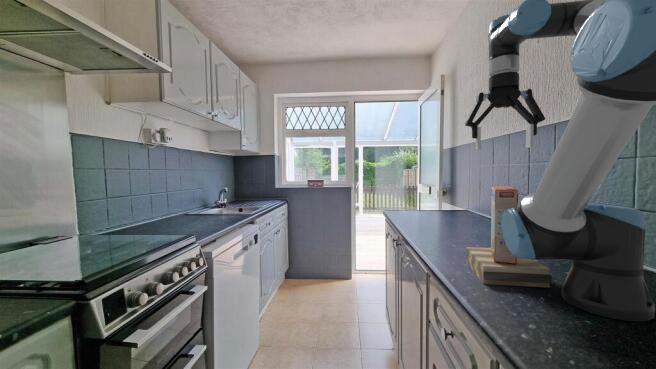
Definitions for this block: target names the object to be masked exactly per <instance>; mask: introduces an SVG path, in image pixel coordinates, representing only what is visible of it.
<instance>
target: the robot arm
mask: <svg viewBox="0 0 656 369" xmlns="http://www.w3.org/2000/svg"><path fill="white" fill-rule="evenodd" d="M569 36H570V37H571V36H572V37H573V36H575V40H574V42H573V44H572V48H571V54H572V55H573V57H572V58H571V59H570V65H571V69H572V71H573V73H574V75H575V76H576V77H577V80H576V82H575V84H576V86H577V87H578V89H579V90H580V92H581V93H582V94H581V96H580V97H579V100H578V103H577V105H576V107H575V108H574V111H573V113H572V115H571V117H570V119H569V121H568V123H567V125H566V128H565V130H564V132H563V134H562V136H561V138H560V140H559V142H558V144H557V147H556V148H555V150H554V152H553V155H552V156H551V159H550V160H549V162H548V165H547V166H546V169H545V171H544V172H543V175H542V176H541V179H540V181H539V182H538V186H537V187H536V189H535V192H532V193H530V194H527V195H525V196H524V197H523V198H522V200H521V202H520V204H519V205H518V209H514V208H511V209H507V210H505V211H504V213H503V216H502V231H503V236H504V239H505V242H506V245H507V247H508V249H509V250H510V252H511V253H512V254H513V255H514V256H516V257H518V258H521V259H531V260H537V261H539V260H541V261H543V260H551V261H552V260H553V261H555V260H557V261H559V260H563V261H565V260H566V261H567V260H570V261H571V267H570V270H569V272H568V273H567V276H566V278H565V280H564V283H563V284H562V287H561V296H562V297H561V298H562V299H563V300H564V301H565V302H566V303H568V304H570V305H571V306H573V307H575V308H577V309H579V310H582V311H584V312H588V313H590V314H594V315H597V316H601V317H604V318H609V319H613V320H620V321H627V322H628V321H629V322H647V321H651V320H653V319H655V313H656V310H655V309H656V308H655V303H654V302H653V298H652V296H651V293H650V291H649V288H648V286H647V284H646V281H645V279H644V266H645V265H644V262H645V259H644V258H645V240H646V237H645V236H646V231H647V228H646V227H645V226H646V225H645V215H644V213H643V212H642V211H641V210H639V209H637V208H634V207H630V206H629V207H627V206H621V205H615V204H607V203H606V204H604V203H597V202H590V201H591V199H592V197H593V196H594V195H595V193H596V192H597V190H598V188H599V187H600V186H601V184H602V183H603V181H604V180H605V178H606V176H607V175H608V174H609V172H610V171H611V169H612V168H613V166H614V165H615V163H616V162H617V160H618V158H619V157H620V156H621V154H622V153H623V151H624V150H625V148H626V147H627V145H628V143H629V142H630V140H631V139H632V137H633V136H634V135H635V133H636V131H637V130H638V128H639V127H640V125H642V124H641V123H643V121H644V119H645V118H646V117H647V114H648V113H649V112H650V111H651V109H652V107H654V106H655V105H656V0H575V1H566V2H556V3H555V2H554V3H549V1H548V0H524V1H523V2H522V3H520V4H519V5H518V6H517V7H516V8H514V10H512V12H510V14H504V15H501V16H499V17H497V18H496V19H494V20H492V21H491V22H490V23H489V29H488V35H487V37H488V77H489V78H488V93H484V92H479V93H478V94H477V95H476V100H475V104H474V105H473V107H472V109H471V111H470V113H469V115H468V117H467V119H466V121H465V124H464V126H466V127H470V128H471V138H472V139H475V143H474V144H475V148H474V149H475V150H477V151H478V150H481V148H482V147H481V146H482V129H481V128H482V126H479V125H480V123H482V121H483V120H484V119H485V118H486V117H487V116H488V114H490V113H491V111H492V110H493V109H494V108H496V109H501V108H503V109H506V108H510V107H511V108H512V109H513V110H515V111H516V112H517V113H518V114H519V115H520V116H521V117H522V118H523V119H524V120H525V121H526V122H527V123H528V124H527V125H526V126H525V149H527V148H529V149H530V148H533V147H534V136H537V134H538V123H541V122H543V121H545V120H546V117H545V115H544V114H543V111H542V110H541V108H540V107H539V104H538V103H537V100H535V97H534V96H533V95H534V94H533V90H532V88H527V89H526V90H520V73H519V71H520V45H521V44H523V42H525V41H527V40H532V39H533V40H534V39H535V40H536V39H545V38H555V37H569ZM520 97H522V99H524V102H525V103H526V105H527V107H528V108H526V107H525V106H524V105H523V104H522V102H521V101H520V100H519V98H520ZM486 99H487V100H488V101H489V102H490V103H489V104H488V105H487V106H486V108H485V109H484V110H483V111H482V112H481V114H479V116H478V117H477V118H476V120H474V119H475V117H476V115H477V113H478V112H479V110H480V107H481V105H482V104H483V102H485V101H486ZM528 109H529V110H528Z"/></svg>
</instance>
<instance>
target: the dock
mask: <svg viewBox="0 0 656 369" xmlns="http://www.w3.org/2000/svg"><path fill="white" fill-rule="evenodd" d="M465 262H466V263H467V265H468V266H469V268H470V269H471V270H472V271H473V273H474V274H475V275H476V276H477V278H478V279H479V281H480V282H481V284H483V285H496V286H497V285H498V286H514V287H515V286H516V287H517V286H518V287H533V288H534V287H535V288H548V289H549V288H550V287H551V286H550V284H553V279H552V278H553V276H552V275H551V269H550V268H549V267H548V266H546V265H545V264H543V263H541V262H540V261H539V260H531V259H521V258H518V257H517V264H510V263H501V262H494V259H493V255H492V252H491V247H474V246H473V247H472V246H471V247H469V246H467V247H465Z"/></svg>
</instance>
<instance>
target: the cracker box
mask: <svg viewBox="0 0 656 369" xmlns="http://www.w3.org/2000/svg"><path fill="white" fill-rule="evenodd" d="M490 204H491V205H490V206H491V214H490V215H491V218H490V219H491V222H490V224H491V225H490V228H491V229H490V248H491V252H492V255H493V259H494V262H501V263H510V264H517V257H516V256H514V255H513V254H512V253H511V252H510V250H509V249H508V247H507V245H506V242H505V239H504V236H503V231H502V216H503V213H504V211H505V210H507V209H511V208H514V209H518V208H519V190H518V188H515V187H513V186H508V185H507V186H506V185H505V186H503V185H502V186H500V185H498V186H496V185H495V186H491V203H490Z"/></svg>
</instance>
